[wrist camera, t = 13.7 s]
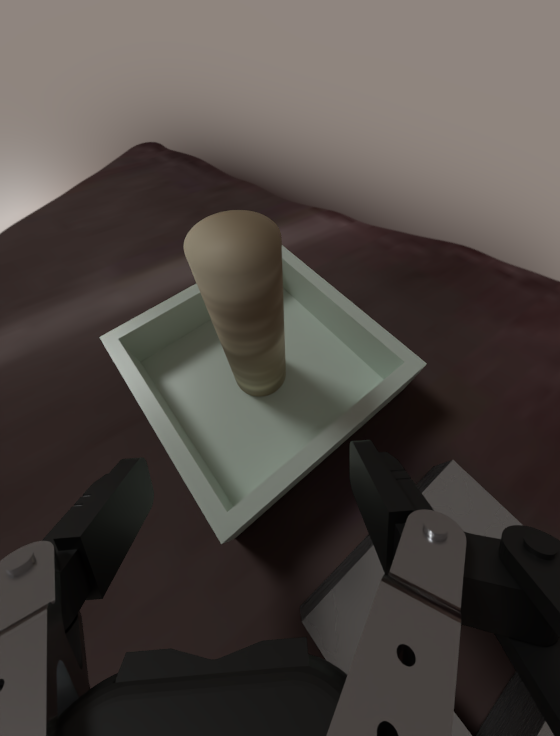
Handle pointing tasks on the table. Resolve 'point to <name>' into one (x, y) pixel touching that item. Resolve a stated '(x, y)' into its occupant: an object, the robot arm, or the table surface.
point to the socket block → (362, 578)
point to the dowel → (243, 293)
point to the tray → (258, 414)
